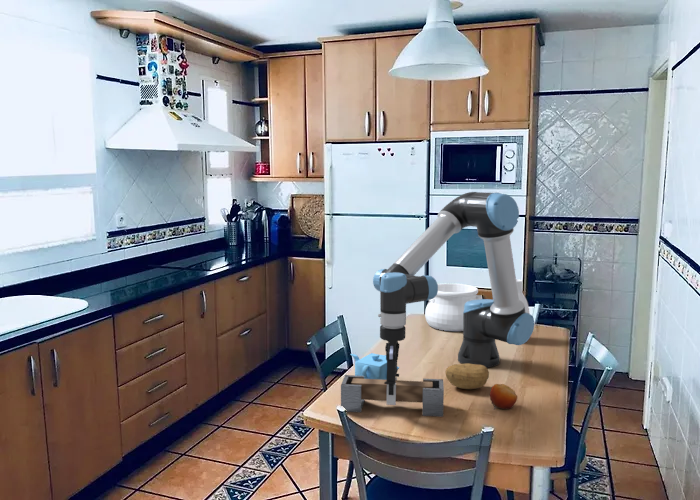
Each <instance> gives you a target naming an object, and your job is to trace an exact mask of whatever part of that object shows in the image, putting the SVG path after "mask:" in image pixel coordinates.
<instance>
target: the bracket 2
mask: <svg viewBox="0 0 700 500" xmlns="http://www.w3.org/2000/svg"><path fill="white" fill-rule="evenodd" d="M422 382H433V387H432V388H423V403H422V417H423V416H424V417H442V418H443V417H444V403H445V402H444V397H445V395H444V394H445V389H444V388H445V387H444V379H443V378H422Z"/></svg>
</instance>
